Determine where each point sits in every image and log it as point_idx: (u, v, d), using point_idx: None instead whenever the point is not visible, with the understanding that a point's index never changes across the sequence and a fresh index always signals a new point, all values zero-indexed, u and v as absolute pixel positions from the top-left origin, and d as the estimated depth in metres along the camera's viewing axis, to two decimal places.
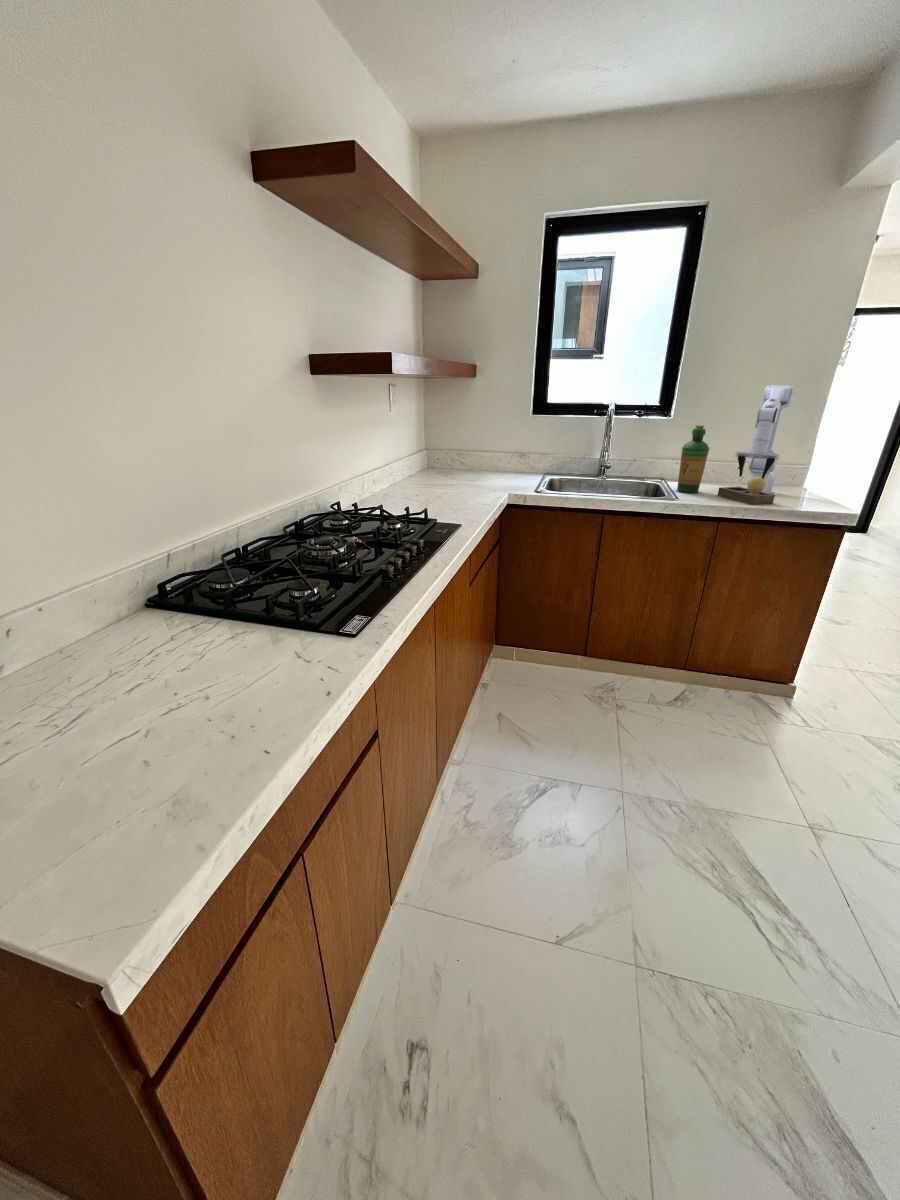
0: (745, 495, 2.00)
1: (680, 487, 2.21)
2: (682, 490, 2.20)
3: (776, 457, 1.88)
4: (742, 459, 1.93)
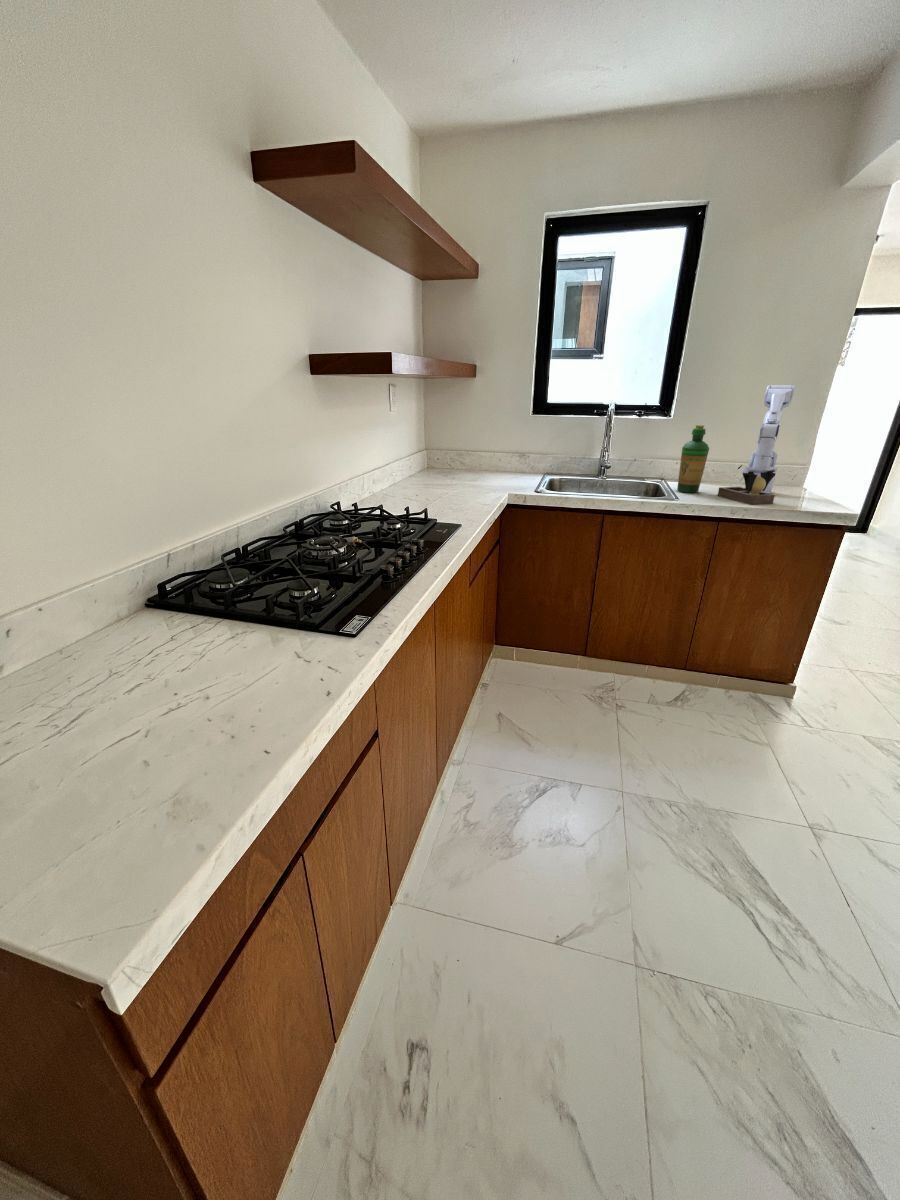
0: (745, 495, 2.00)
1: (680, 487, 2.21)
2: (682, 490, 2.20)
3: (775, 470, 1.99)
4: (755, 476, 1.96)
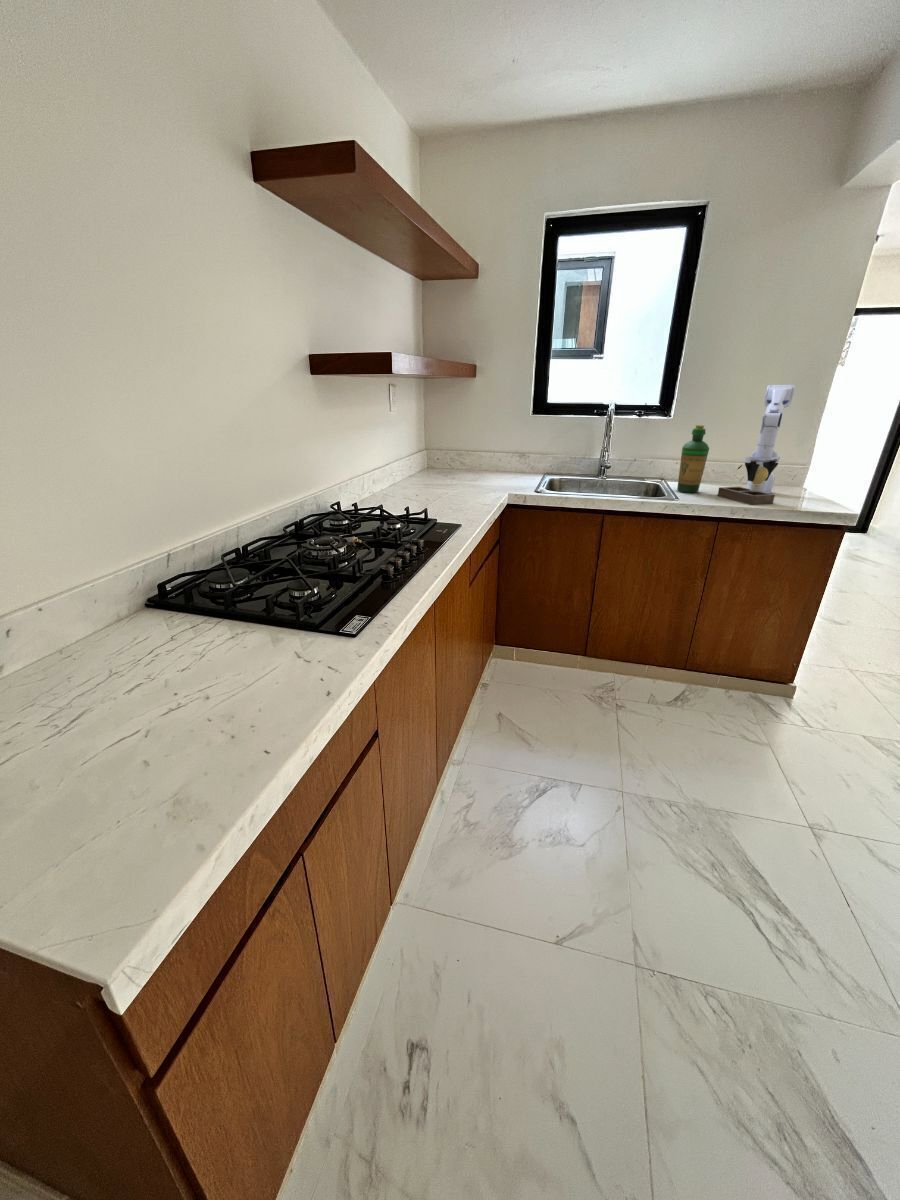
0: (745, 495, 2.00)
1: (680, 487, 2.21)
2: (682, 490, 2.20)
3: (777, 460, 1.98)
4: (758, 465, 1.95)
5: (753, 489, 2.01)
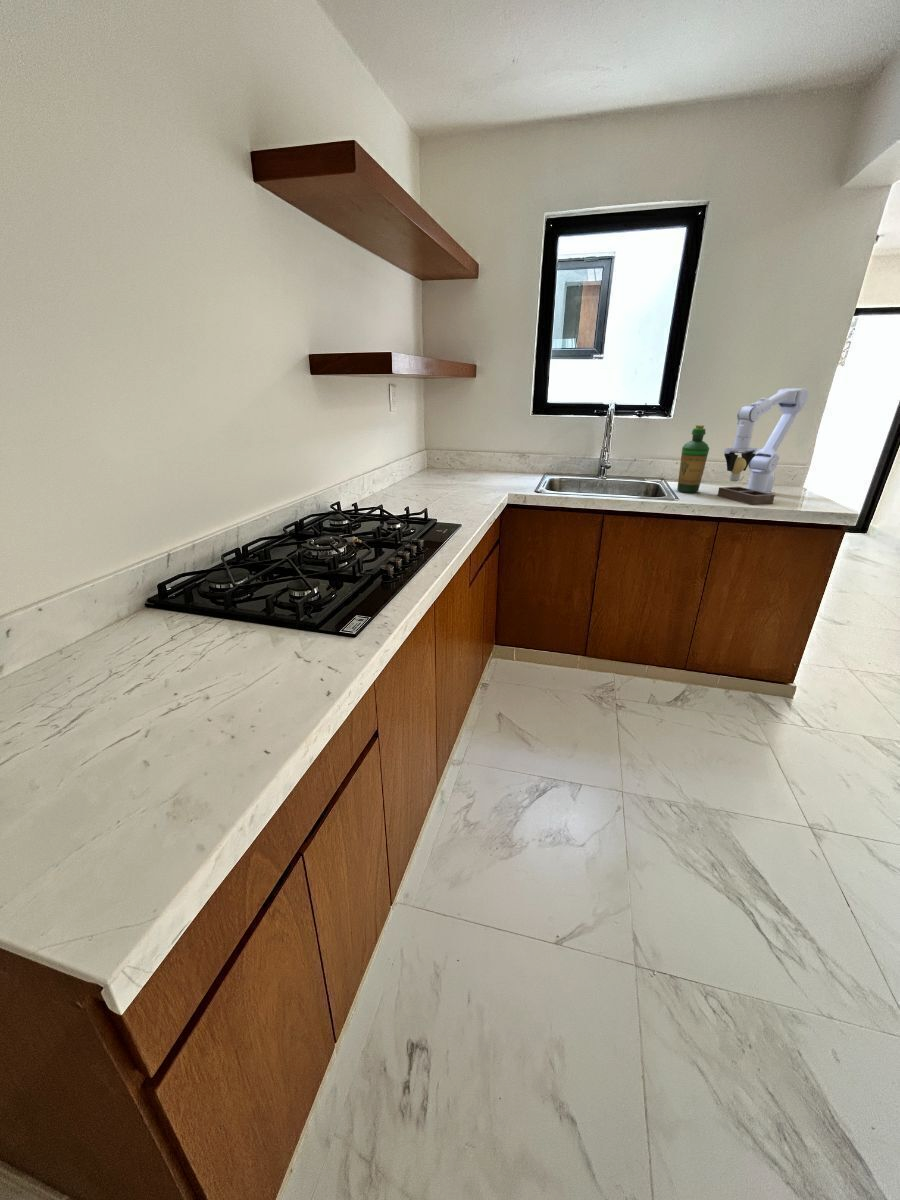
0: (745, 495, 2.00)
1: (680, 487, 2.21)
2: (682, 490, 2.20)
3: (755, 451, 2.09)
4: (736, 456, 2.06)
5: (732, 478, 2.12)
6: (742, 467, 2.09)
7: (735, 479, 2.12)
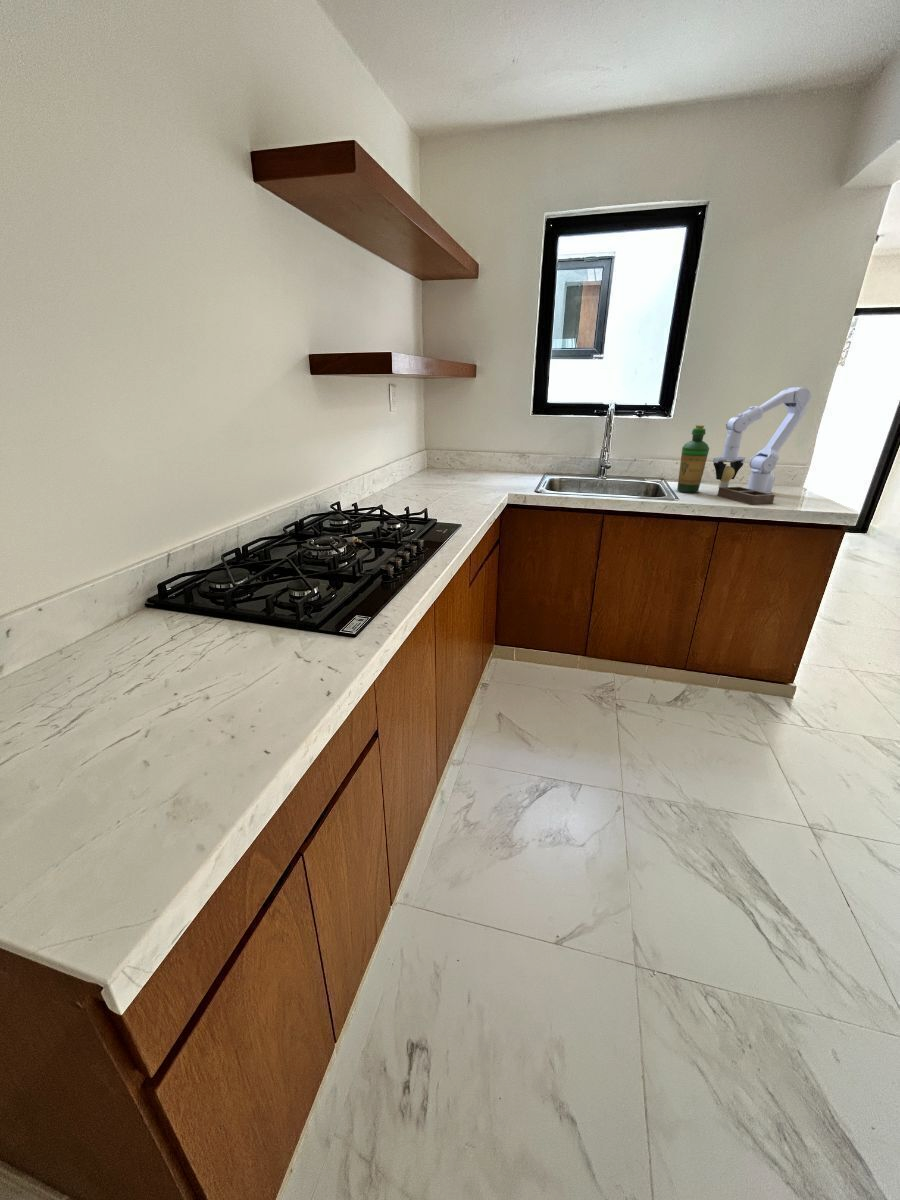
0: (745, 495, 2.00)
1: (680, 487, 2.21)
2: (682, 490, 2.20)
3: (743, 460, 2.16)
4: (724, 465, 2.13)
5: None
6: (730, 476, 2.16)
7: None
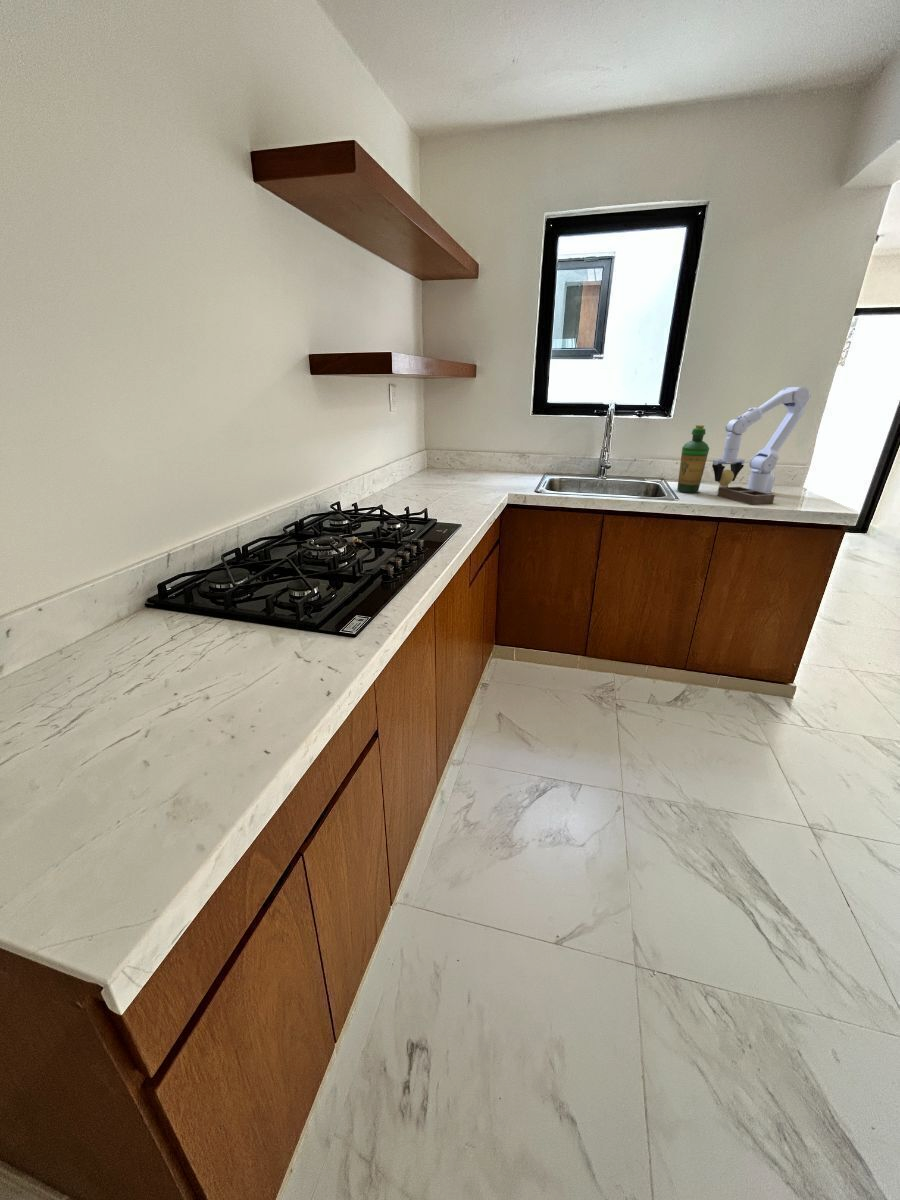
0: (745, 495, 2.00)
1: (680, 487, 2.21)
2: (682, 490, 2.20)
3: (743, 462, 2.17)
4: (723, 467, 2.14)
5: None
6: (730, 479, 2.16)
7: None
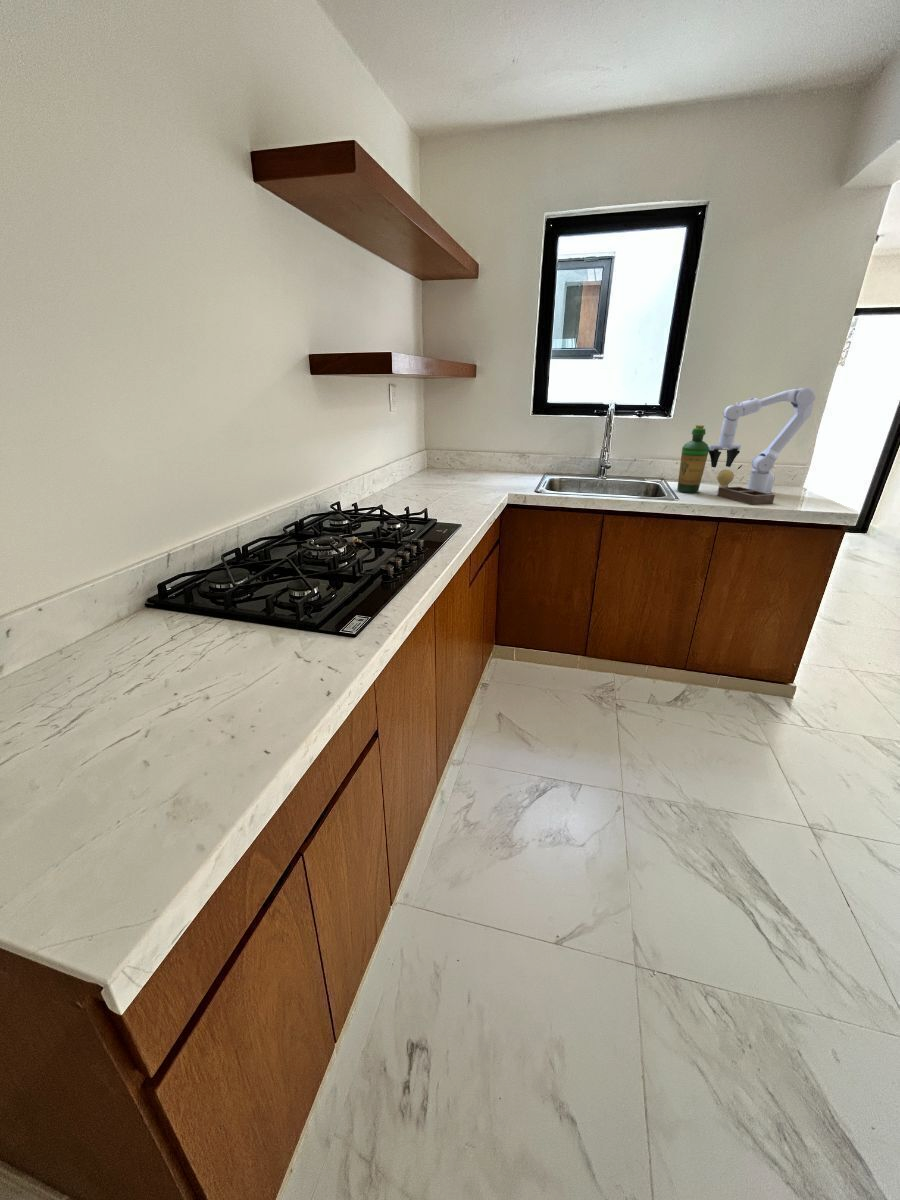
0: (745, 495, 2.00)
1: (680, 487, 2.21)
2: (682, 490, 2.20)
3: (739, 448, 2.19)
4: (719, 453, 2.16)
5: None
6: (730, 479, 2.16)
7: None
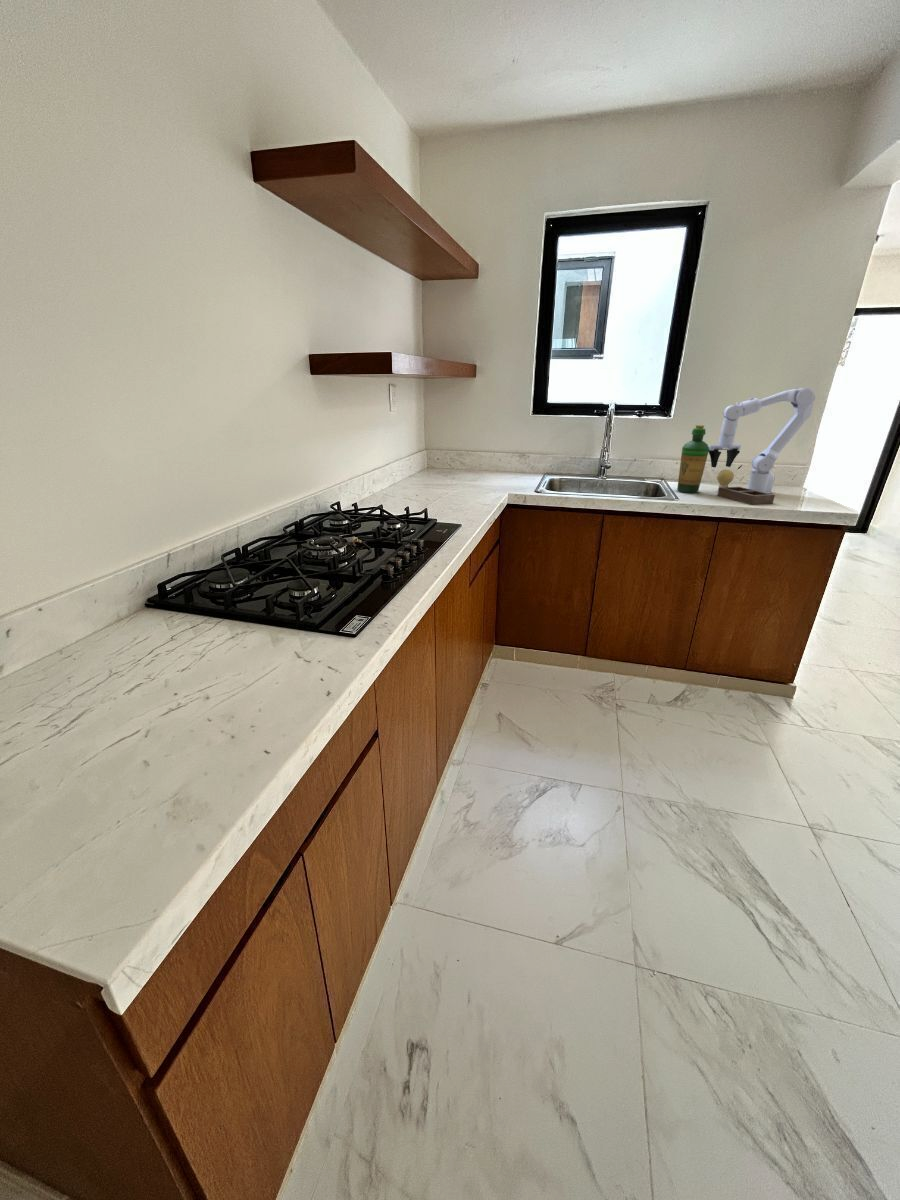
0: (745, 495, 2.00)
1: (680, 487, 2.21)
2: (682, 490, 2.20)
3: (739, 448, 2.19)
4: (719, 453, 2.16)
5: None
6: (730, 479, 2.16)
7: None
